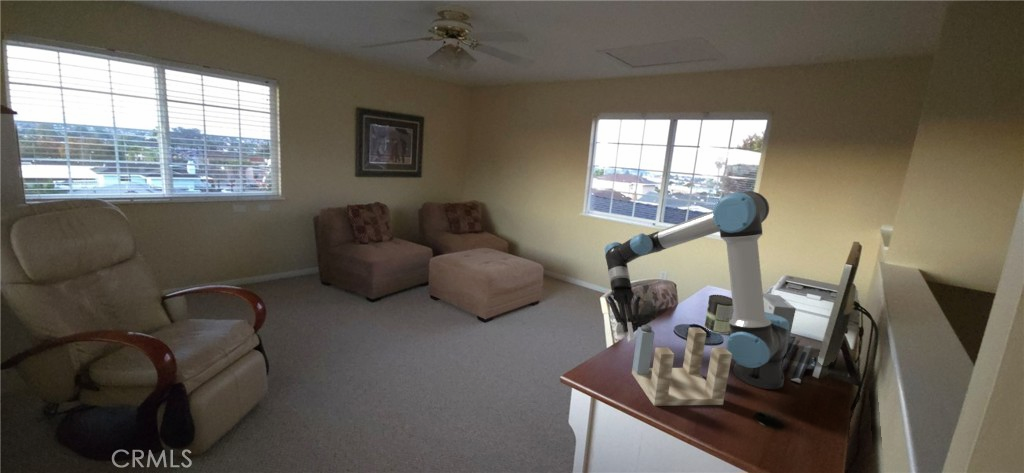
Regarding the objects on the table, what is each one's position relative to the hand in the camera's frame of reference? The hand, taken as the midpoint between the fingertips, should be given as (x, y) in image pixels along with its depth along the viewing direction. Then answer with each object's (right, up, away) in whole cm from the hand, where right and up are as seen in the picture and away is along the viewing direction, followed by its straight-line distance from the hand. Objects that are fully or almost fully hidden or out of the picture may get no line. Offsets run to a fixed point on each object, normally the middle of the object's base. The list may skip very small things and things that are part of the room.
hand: (631, 340), depth 149 cm
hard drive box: (+60, -8, +20) cm, 64 cm away
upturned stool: (+10, -12, -13) cm, 20 cm away
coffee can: (+47, -4, +34) cm, 58 cm away
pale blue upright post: (+1, -8, -8) cm, 11 cm away
